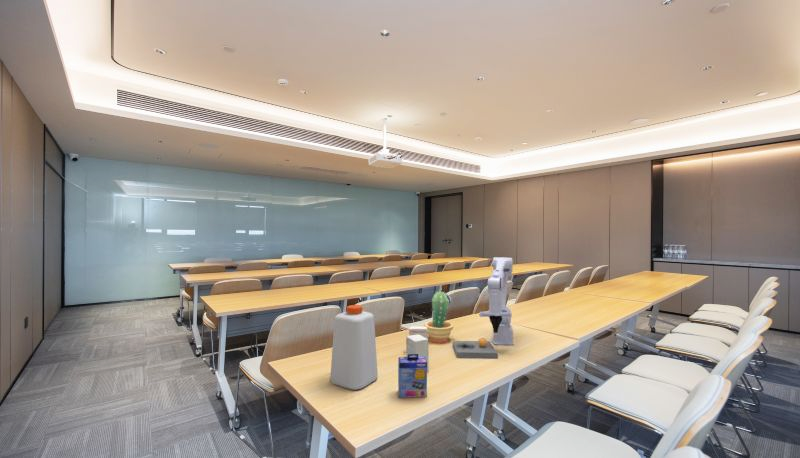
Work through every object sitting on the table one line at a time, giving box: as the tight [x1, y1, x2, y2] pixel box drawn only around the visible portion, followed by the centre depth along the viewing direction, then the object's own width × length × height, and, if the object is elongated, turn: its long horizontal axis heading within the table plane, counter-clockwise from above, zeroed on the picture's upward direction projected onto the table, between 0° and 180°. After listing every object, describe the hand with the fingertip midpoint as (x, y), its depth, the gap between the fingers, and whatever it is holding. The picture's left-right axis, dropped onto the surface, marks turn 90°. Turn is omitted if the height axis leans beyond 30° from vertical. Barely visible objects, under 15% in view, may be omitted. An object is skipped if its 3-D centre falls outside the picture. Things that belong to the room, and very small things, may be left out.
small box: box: [405, 334, 429, 373], centre depth 137 cm, size 8×6×13 cm
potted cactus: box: [423, 290, 454, 344], centre depth 175 cm, size 15×15×25 cm
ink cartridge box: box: [397, 354, 428, 399], centre depth 116 cm, size 10×6×14 cm, turn 95°
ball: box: [477, 337, 488, 347], centre depth 157 cm, size 4×4×4 cm
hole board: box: [452, 340, 499, 359], centre depth 157 cm, size 18×16×2 cm
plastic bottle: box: [329, 304, 379, 391], centre depth 127 cm, size 15×15×28 cm
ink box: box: [408, 325, 429, 340], centre depth 156 cm, size 9×5×12 cm, turn 84°
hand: (495, 332), depth 157 cm, fingers closed
